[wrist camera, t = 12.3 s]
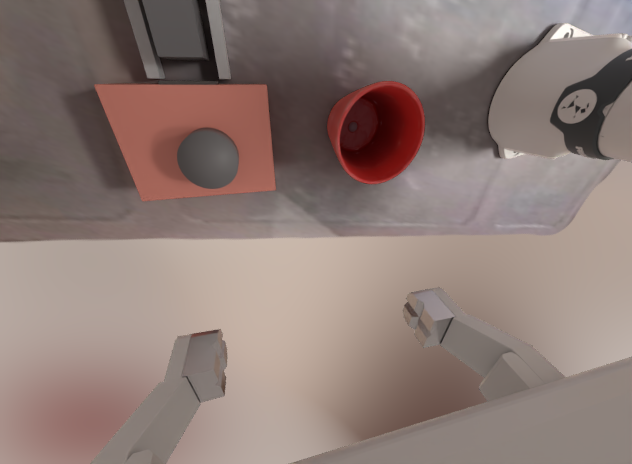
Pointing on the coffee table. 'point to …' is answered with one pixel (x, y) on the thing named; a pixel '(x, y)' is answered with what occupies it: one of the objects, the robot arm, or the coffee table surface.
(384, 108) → the flower pot
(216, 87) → the pink block with rods
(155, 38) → the tall grey rectangular block
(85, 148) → the coffee table surface
